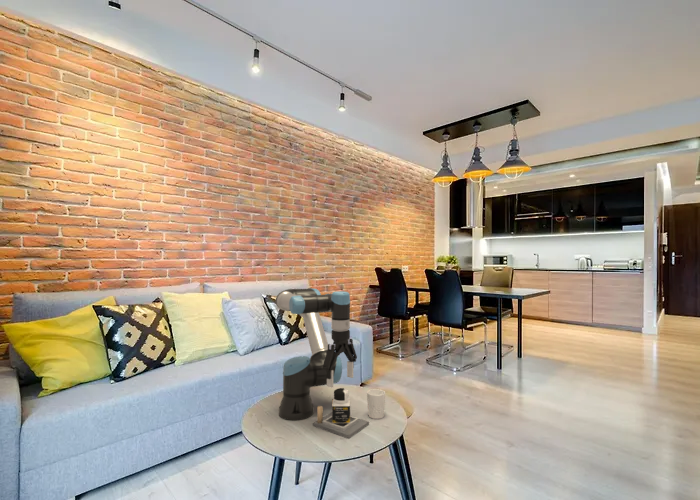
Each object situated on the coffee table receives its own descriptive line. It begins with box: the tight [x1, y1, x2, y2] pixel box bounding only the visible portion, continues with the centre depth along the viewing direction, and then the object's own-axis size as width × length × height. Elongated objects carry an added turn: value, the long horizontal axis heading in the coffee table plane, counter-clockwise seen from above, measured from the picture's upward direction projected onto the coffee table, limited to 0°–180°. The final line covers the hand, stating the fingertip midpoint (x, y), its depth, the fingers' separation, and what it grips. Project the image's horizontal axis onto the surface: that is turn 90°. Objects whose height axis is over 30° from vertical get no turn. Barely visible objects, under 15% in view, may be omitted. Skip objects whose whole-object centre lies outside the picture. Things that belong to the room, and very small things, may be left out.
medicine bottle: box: [331, 387, 351, 423], centre depth 143 cm, size 7×7×12 cm
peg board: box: [312, 398, 370, 440], centre depth 142 cm, size 18×14×7 cm
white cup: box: [366, 388, 386, 420], centre depth 151 cm, size 8×8×10 cm
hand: (340, 381), depth 143 cm, fingers open, 13 cm apart
